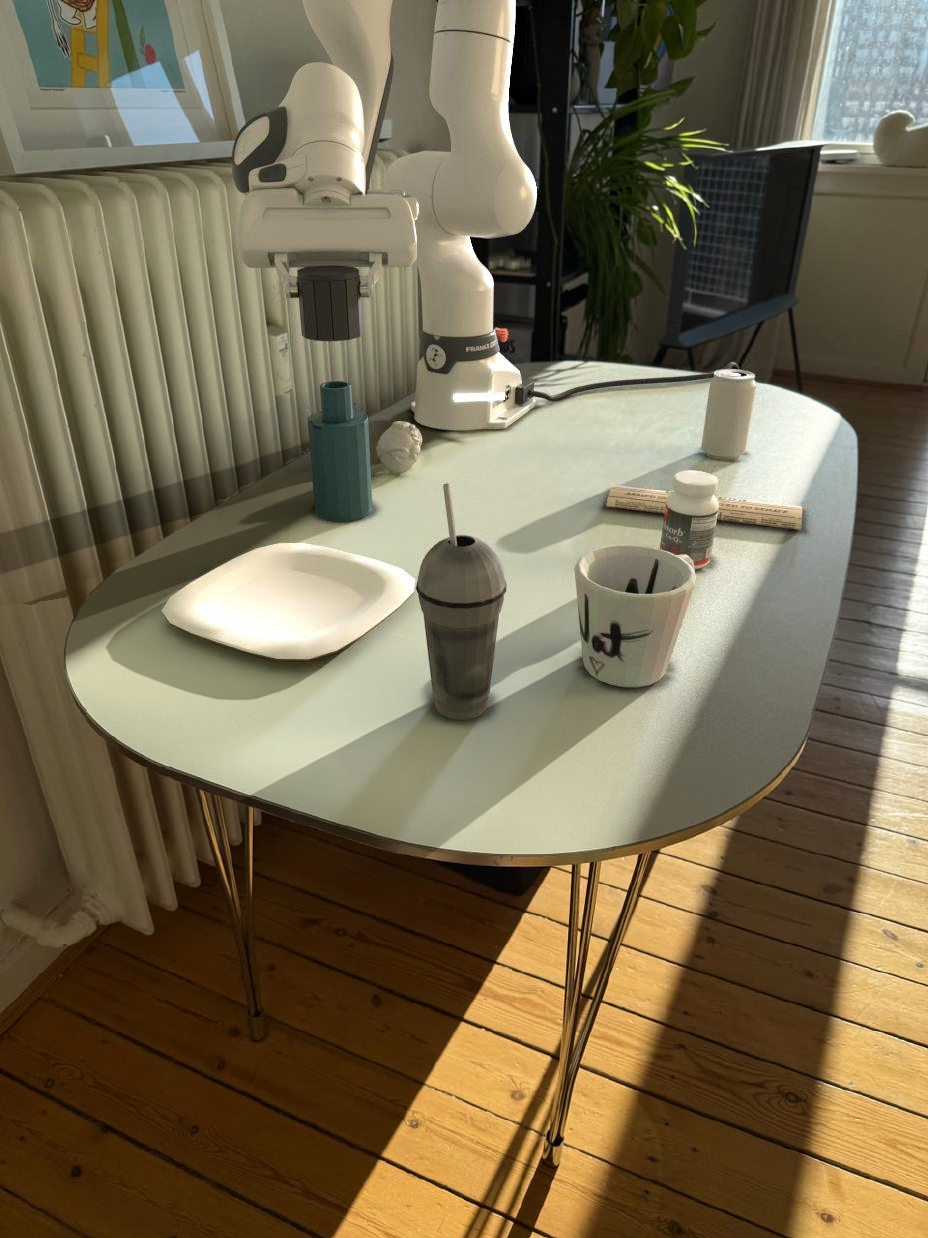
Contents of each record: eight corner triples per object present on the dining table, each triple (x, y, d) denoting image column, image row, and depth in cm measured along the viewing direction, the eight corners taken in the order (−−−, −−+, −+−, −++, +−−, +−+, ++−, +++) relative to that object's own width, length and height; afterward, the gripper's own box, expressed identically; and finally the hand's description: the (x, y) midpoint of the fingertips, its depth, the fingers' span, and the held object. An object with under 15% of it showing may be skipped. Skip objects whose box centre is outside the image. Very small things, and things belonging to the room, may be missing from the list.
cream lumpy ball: (432, 469, 127) (431, 421, 124) (400, 483, 122) (398, 433, 119) (399, 460, 130) (398, 413, 127) (367, 474, 126) (364, 425, 122)
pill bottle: (649, 553, 104) (658, 471, 99) (691, 546, 105) (703, 465, 100) (676, 574, 99) (687, 489, 94) (720, 566, 101) (733, 483, 96)
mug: (544, 665, 83) (549, 567, 78) (640, 610, 92) (650, 520, 87) (637, 712, 76) (649, 610, 71) (730, 648, 85) (747, 553, 80)
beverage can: (753, 458, 132) (767, 376, 126) (717, 463, 130) (729, 380, 124) (727, 445, 137) (739, 365, 131) (691, 450, 135) (702, 369, 129)
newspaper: (606, 509, 115) (607, 496, 114) (614, 490, 121) (615, 477, 120) (799, 533, 109) (802, 519, 108) (798, 511, 115) (801, 498, 114)
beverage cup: (495, 735, 74) (501, 507, 64) (409, 724, 75) (402, 499, 65) (509, 686, 80) (516, 472, 70) (429, 677, 81) (425, 465, 71)
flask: (341, 495, 119) (333, 373, 111) (383, 507, 115) (378, 383, 107) (303, 512, 114) (291, 386, 106) (345, 526, 110) (337, 396, 102)
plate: (313, 687, 79) (312, 671, 78) (136, 627, 88) (133, 611, 88) (438, 588, 96) (438, 574, 95) (278, 545, 105) (277, 532, 104)
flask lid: (330, 325, 108) (326, 263, 104) (374, 333, 104) (371, 269, 101) (290, 335, 103) (284, 270, 99) (334, 344, 99) (329, 277, 96)
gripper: (417, 209, 108) (421, 310, 104) (244, 210, 107) (243, 312, 103) (417, 170, 102) (422, 276, 98) (234, 170, 101) (232, 277, 97)
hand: (328, 294), depth 101 cm, fingers closed on flask lid, 7 cm apart
